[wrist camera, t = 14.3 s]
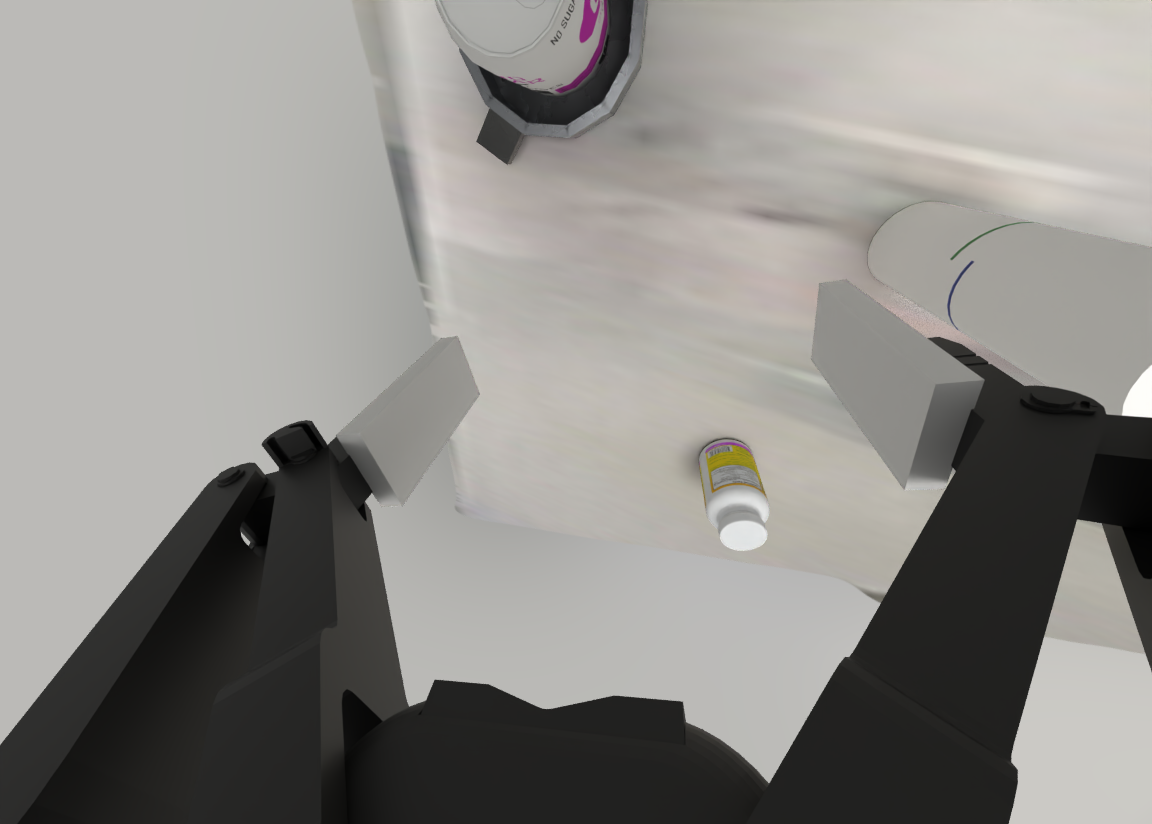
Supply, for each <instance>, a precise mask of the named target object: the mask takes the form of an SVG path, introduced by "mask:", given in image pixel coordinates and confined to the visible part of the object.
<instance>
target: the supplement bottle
mask: <svg viewBox="0 0 1152 824" xmlns="http://www.w3.org/2000/svg"><path fill="white" fill-rule="evenodd" d="M699 467H700V474H701V481H702V487H703V494H704V501H705V508H706V514H707V517H708V519H709V521H710V522H711V523H712V525H713V526H715V527H716V528H717V529H718V532H719V537H720V540H721V542H722V543H723V544H724V545H725V546H727V547H728V548H730V549H734V550H739V551H747V550H752V549H755V548H758V547H759V546H761V545H762V544H763V543H764V542H765V541H766V539H767V530H766V526H765V522H766V520H767V519H768V516H769V512H770V509H769V503H768V500H767V497H766V494H765V491H764V488H763V485H762V482H761V479H760V476H759V473H758V469H757V466H756V463H755V460H754V457H753V455H752V452H751V450H750V449H749V448H748V447H747V446H746V445H745V444H743V443H741V442H739V441H736V440H729V439H725V440H718V441H715V442H713V443H711V444H709V445H708V446H706V447H705V448H704V449H703V451H702V452H701V454H700V457H699Z"/></svg>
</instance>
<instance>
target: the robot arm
mask: <svg viewBox="0 0 1152 824" xmlns="http://www.w3.org/2000/svg"><path fill="white" fill-rule="evenodd" d="M811 360H812V362H813V363H814V364H815V366H816V367H817V369H818V370H819V371H820V373H821V374H822V376H823V377H824V378H825V380H826V381H827V383H828V384H829V385H830V387H831V388H832V390H833V391H834V392H835V394H836V395H837V397H838V398H839V399H840V401H841V402H842V404H843V405H844V406H845V408H846V409H847V411H848V412H849V413H850V415H851V416H852V418H853V419H854V420H855V422H856V423H857V425H858V426H859V427H860V429H861V430H862V432H863V433H864V434H865V436H866V437H867V439H868V440H869V441H870V443H871V444H872V446H873V447H874V448H875V450H876V451H877V453H878V454H879V455H880V457H881V458H882V460H883V461H884V462H885V464H886V465H887V467H888V468H889V469H890V471H891V472H892V474H893V475H894V476H895V478H896V479H897V481H898V482H899V483H900V485H901V486H902V488H903V489H904V490H930V489H945V487H946V485H947V482H948V479H949V476H950V474H951V471H952V468H954V469H955V470H956V472H955V474H954V476H953V477H952V479H951V481H950V483H949V484H948V486H947V488H946V490H945V492H944V493H943V495H942V497H941V499H940V500H939V502H938V504H937V506H936V507H935V509H934V511H933V513H932V514H931V516H930V518H929V520H928V521H927V523H926V525H925V527H924V528H923V530H922V532H921V534H920V536H919V537H918V539H917V541H916V543H915V544H914V546H913V548H912V550H911V551H910V553H909V555H908V557H907V558H906V560H905V562H904V564H903V565H902V567H901V569H900V571H899V572H898V574H897V576H896V578H895V580H894V581H893V583H892V585H891V587H890V588H889V590H888V592H887V594H886V595H885V597H884V599H883V601H882V602H881V604H880V606H879V608H878V609H877V611H876V613H875V615H874V616H873V618H872V620H871V622H870V624H869V625H868V627H867V629H866V631H865V632H864V634H863V636H862V638H861V639H860V641H859V643H858V645H857V647H856V648H855V650H854V651H853V653H852V654H851V655H850V657H845V658H844V659H843V660H842V661H841V663H840V664H839V665H838V667H837V669H836V670H835V672H834V673H833V675H832V677H831V678H830V680H829V682H828V684H827V685H826V687H825V689H824V690H823V692H822V694H821V695H820V697H819V699H818V701H817V702H816V704H815V706H814V707H813V709H812V711H811V713H810V715H809V716H808V718H807V720H806V721H805V723H804V725H803V726H802V729H801V730H800V732H799V733H798V735H797V737H796V739H795V740H794V742H793V744H792V745H791V747H790V749H789V751H788V752H787V754H786V756H785V758H784V759H783V761H782V763H781V764H780V766H779V768H778V770H777V771H776V773H775V775H774V777H773V778H772V780H771V782H770V783H768V782H767V781H766V780H765V779H764V778H763V777H762V776H761V774H760V773H759V772H758V771H757V770H756V769H755V768H754V767H753V766H752V765H751V764H750V763H749V762H747V761H746V760H745V759H744V758H743V757H742V756H741V755H740V754H739V753H738V752H736V751H735V750H734V749H732V748H731V747H730V746H728V745H727V744H725V743H724V742H723V741H721V740H720V739H718V738H717V737H715V736H713V735H711V734H710V733H708V732H706V731H704V730H703V729H700V728H698V727H696V726H693V725H691V724H688V723H686V720H685V713H684V706H683V702H680V701H668V700H657V699H646V698H635V697H624V696H611V697H606V698H601V699H596V700H592V701H587V702H582V703H577V704H573V705H568V706H563V707H558V708H554V709H542V708H539V707H537V706H534V705H532V704H530V703H528V702H526V701H523V700H521V699H519V698H517V697H515V696H513V695H510V694H508V693H506V692H504V691H502V690H499V689H497V688H495V687H493V686H491V685H489V684H477V683H467V682H466V683H465V682H455V681H444V680H434V683H433V685H432V688H431V690H430V693H429V695H428V697H427V700H426V701H424V702H421V703H418V704H416V705H413V706H410V707H409V706H408V703H407V700H406V696H405V690H404V686H403V680H402V675H401V669H400V664H399V658H398V653H397V648H396V642H395V637H394V632H393V627H392V622H391V616H390V610H389V605H388V600H387V594H386V589H385V584H384V578H383V573H382V568H381V562H380V557H379V552H378V546H377V541H376V536H375V530H374V525H373V519H372V514H371V510H370V509H369V507H368V505H367V504H366V503H365V500H366V499H367V498H368V497H369V496H370V495H371V493H373V495H374V496H375V498H376V499H377V501H378V502H379V504H380V506H381V507H390V506H403V505H404V503H405V502H406V501H407V499H408V497H409V496H410V495H411V493H412V492H413V490H414V489H415V487H416V486H417V485H418V483H419V482H420V480H421V479H422V477H423V476H424V474H425V473H426V471H427V470H428V469H429V467H430V466H431V464H432V463H433V461H434V460H435V458H436V457H437V456H438V454H439V453H440V451H441V450H442V448H443V447H444V446H445V444H446V443H447V441H448V440H449V438H450V437H451V435H452V434H453V433H454V431H455V430H456V428H457V427H458V425H459V424H460V422H461V421H462V420H463V418H464V417H465V415H466V414H467V412H468V411H469V409H470V408H471V407H472V405H473V404H474V402H475V401H476V399H477V398H478V396H479V395H480V393H479V390H478V388H477V385H476V383H475V380H474V377H473V375H472V372H471V370H470V367H469V364H468V362H467V359H466V356H465V354H464V351H463V349H462V346H461V343H460V341H459V338H458V336H455V337H448V338H441V339H440V340H439V341H438V342H437V343H435V344H434V345H433V346H432V347H431V348H430V349H429V350H428V351H427V352H426V353H425V354H424V355H423V356H421V358H419V359H418V360H417V361H416V362H415V363H414V364H413V365H412V366H411V367H409V368H408V369H407V370H406V371H405V372H404V373H403V374H402V375H401V376H400V377H399V378H398V379H396V380H395V381H394V382H393V383H392V384H391V385H390V386H389V387H388V388H387V389H386V390H384V391H383V392H382V393H381V394H380V395H379V396H378V397H377V398H376V399H375V400H374V401H373V402H372V403H370V404H369V405H368V406H367V407H366V408H365V409H364V410H363V411H362V412H361V413H360V414H358V415H357V416H356V417H355V418H354V419H353V420H352V421H351V422H350V423H349V424H348V425H347V426H345V427H344V428H343V429H342V430H341V431H340V432H339V433H338V434H337V435H336V438H335V439H333V440H332V441H331V442H330V443H329V444H328V445H327V444H326V442H325V440H324V439H323V437H322V436H321V434H320V433H319V431H318V430H317V428H316V427H315V425H314V424H313V422H312V421H307V420H305V421H299V422H296V423H293V424H290V425H288V426H285V427H283V428H281V429H279V430H277V431H276V432H274V433H272V434H271V435H270V436H269V437H267V438H266V439H265V440H264V441H263V443H262V446H263V447H264V449H265V450H266V451H267V453H268V454H269V455H270V456H271V458H272V459H273V460H274V462H275V463H276V464H277V466H278V467H279V471H277V472H273V473H270V474H266V475H265V474H264V473H263V472H262V471H261V469H260V468H259V467H258V466H257V465H256V464H255V463H246V464H241V465H239V466H236V467H231V468H229V469H227V470H225V471H223V472H221V473H220V474H219V476H217V477H216V478H215V479H213V480H212V481H211V482H210V483H209V484H208V485H207V486H206V487H205V488H204V490H203V491H202V492H201V493H200V495H199V496H198V497H197V498H196V500H195V501H194V502H193V503H192V505H191V506H190V507H189V508H188V510H187V511H186V512H185V513H184V515H183V516H182V517H181V518H180V520H179V521H178V522H177V523H176V525H175V526H174V527H173V528H172V530H171V531H170V532H169V533H168V535H167V536H166V537H165V538H164V540H163V541H162V542H161V544H160V545H159V546H158V547H157V549H156V550H155V551H154V552H153V554H152V555H151V556H150V557H149V559H148V560H147V561H146V563H145V564H144V565H143V566H142V567H141V569H140V570H139V571H138V572H137V574H136V575H135V576H134V578H133V579H132V580H131V581H130V582H129V584H128V585H127V586H126V588H125V589H124V590H123V591H122V593H121V594H120V595H119V596H118V598H117V599H116V600H115V602H114V603H113V604H112V605H111V606H110V608H109V609H108V610H107V611H106V613H105V614H104V615H103V616H102V618H101V619H100V620H99V622H98V623H97V624H96V625H95V627H94V628H93V629H92V630H91V632H90V633H89V634H88V635H87V637H86V638H85V639H84V640H83V642H82V643H81V644H80V645H79V647H78V648H77V649H76V650H75V652H74V653H73V654H72V655H71V657H70V658H69V659H68V661H67V662H66V663H65V664H64V666H63V667H62V668H61V669H60V671H59V672H58V673H57V674H56V676H55V677H54V678H53V679H52V681H51V682H50V683H49V684H48V686H47V687H46V688H45V689H44V691H43V692H42V693H41V694H40V696H39V697H38V698H37V700H36V701H35V702H34V703H33V705H32V706H31V707H30V708H29V710H28V711H27V712H26V714H25V715H24V716H23V717H22V718H21V720H20V721H19V722H18V723H17V725H16V726H15V727H14V728H13V730H12V731H11V732H10V733H9V735H8V736H7V737H6V738H5V740H4V741H3V742H2V744H1V745H0V824H1009V820H1010V816H1011V812H1012V808H1013V804H1014V799H1015V794H1016V789H1017V784H1018V779H1017V778H1018V775H1017V774H1018V770H1017V769H1016V767H1015V766H1014V765H1013V764H1012V763H1011V753H1012V750H1013V745H1014V741H1015V737H1016V734H1017V730H1018V727H1019V723H1020V720H1021V716H1022V713H1023V709H1024V706H1025V702H1026V699H1027V695H1028V691H1029V688H1030V684H1031V681H1032V677H1033V674H1034V670H1035V667H1036V663H1037V660H1038V655H1039V652H1040V649H1041V645H1042V642H1043V638H1044V635H1045V631H1046V628H1047V624H1048V620H1049V617H1050V613H1051V610H1052V606H1053V603H1054V599H1055V596H1056V592H1057V588H1058V585H1059V581H1060V578H1061V574H1062V571H1063V567H1064V564H1065V560H1066V557H1067V553H1068V549H1069V546H1070V542H1071V539H1072V535H1073V532H1074V528H1075V525H1076V521H1077V519H1079V520H1085V521H1091V522H1097V523H1102V526H1103V529H1104V532H1105V535H1106V538H1107V540H1108V543H1109V546H1110V549H1111V552H1112V555H1113V558H1114V561H1115V564H1116V567H1117V570H1118V573H1119V576H1120V579H1121V582H1122V585H1123V588H1124V591H1125V594H1126V597H1127V600H1128V603H1129V606H1130V609H1131V612H1132V615H1133V618H1134V621H1135V623H1136V626H1137V629H1138V632H1139V635H1140V638H1141V641H1142V644H1143V647H1144V650H1145V653H1146V656H1147V659H1148V662H1149V665H1150V668H1151V671H1152V418H1149V417H1136V416H1122V415H1109V414H1106V411H1105V408H1104V406H1102V405H1101V404H1100V403H1098V402H1097V401H1095V400H1094V399H1092V398H1090V397H1087V396H1085V395H1082V394H1080V393H1077V392H1073V391H1069V390H1065V389H1060V388H1055V387H1046V386H1024V385H1022V384H1021V383H1019V382H1018V381H1016V380H1015V379H1013V378H1012V377H1010V376H1009V375H1007V374H1005V373H1004V372H1002V371H1001V370H999V369H998V368H996V367H995V366H993V365H992V364H988V362H987V361H986V360H984V359H983V358H981V357H980V356H976V354H975V353H974V352H972V351H971V350H969V349H968V348H966V347H965V346H963V345H962V344H959V343H956V342H953V341H950V340H947V339H944V338H941V337H933V338H926V337H925V336H923V335H922V334H921V333H919V332H918V331H916V330H915V329H914V328H912V327H911V326H910V325H908V324H907V323H905V322H904V321H903V320H901V319H900V318H899V317H897V316H896V315H894V314H893V313H892V312H890V311H889V310H888V309H886V308H885V307H883V306H882V305H881V304H879V303H878V302H876V301H875V300H874V299H872V298H871V297H870V296H868V295H867V294H865V293H864V292H863V291H861V290H860V289H859V288H857V287H856V286H854V285H853V284H852V283H850V282H849V281H848V280H839V281H832V282H825V283H819V291H818V301H817V310H816V319H815V329H814V338H813V347H812V356H811ZM240 531H241V532H242V534H243V535H245V537H246V538H247V539H248V540H249V541H250V544H249V546H248V545H247V544H246V543H245V542H244V541H243V539H242V537H241V532H240Z"/></svg>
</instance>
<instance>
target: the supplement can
mask: <svg viewBox="0 0 1152 824" xmlns="http://www.w3.org/2000/svg"><path fill="white" fill-rule="evenodd" d="M435 2H436V6H437V9H438V11H439V13H440V15H441V17H442V19H443V21H444V23H445V25H446V28H447V30H448V32H449V34H450V36H451V38H452V39H453V41H454V42H455V43H456V44H457V45H458V46H459V47H460V49H461V50H462V51H463V52H464V53H465V54H466V55H467V57H468V58H469V59H470V60H471V61H472V62H473V63H475V64H477V65H479V66H481V67H482V68H484V69H486V70H488V71H490V72H491V73H493V74H495V75H497V76H500V77H502V78H504V79H507V80H509V81H512V82H514V83H516V84H519V85H521V86H524V87H526V88H529V89H531V90H533V91H536V92H538V93H541V94H543V95H545V96H554V97H566V96H568V95H571V94H573V93H576V92H579V91H581V90H582V89H583V88H584V87H585V86H586V85H587V84H588V83H589V82H590V81H591V80H592V79H593V78H594V77H595V76H596V74H597V72H598V70H599V68H600V67H601V65H602V63H603V61H604V59H605V57H606V53H607V48H608V44H609V39H610V35H611V21H610V5H609V2H608V0H435Z"/></svg>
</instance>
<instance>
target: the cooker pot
mask: <svg viewBox="0 0 1152 824" xmlns="http://www.w3.org/2000/svg"><path fill="white" fill-rule="evenodd" d="M608 2H609V5H610V21H611V35H610V39H609V44H608V48H607V53H606V57H605V59H604V61H603V63H602V65H601V67H600V68H599V70H598V72H597V74H596V76H595V77H594V78H593V79H592V80H591V81H590V82H589V83H588V84H587V85H586V86H585V87H584V88H583V89H582V90H581V91H579V92H576V93H573V94H571V95H568V96H566V97H554V96H545V95H543V94H541V93H538V92H536V91H533V90H531V89H529V88H526V87H524V86H521V85H519V84H516V83H514V82H512V81H509V80H507V79H504V78H502V77H500V76H497V75H495V74H493V73H491V72H490V71H488V70H486V69H484V68H482V67H481V66H479V65H477V64H475V63H473V62H472V61H471V60H470V59H469V58H468V57H467V55H466V54H465V53H464V52H463V51H462V50H461V49H460V47H459V51H460V53H461V55H462V57H463V59H464V62H465V64H466V66H467V68H468V70H469V72H470V74H471V76H472V78H473V80H474V82H475V84H476V86H477V88H478V90H479V92H480V94H481V96H482V98H483V100H484V102H485V104H486V105H487V106H488V107H489V108H490V109H489V112H488V114H487V117H486V119H485V122H484V124H483V126H482V129H481V131H480V134H479V136H478V139H477V141H476V142H478V143H479V144H480V145H482V146H483V147H484V148H486V149H487V150H488V151H490V152H491V153H492V154H494V155H495V156H496V157H498V158H499V159H500V160H502V161H503V162H504V163H506V164H507V165H508V164H511V163H512V161H513V159H514V157H515V155H516V153H517V150H518V148H519V146H520V144H521V142H522V140H523V137H524V135H533V136H548V137H563V138H577V137H579V136H581V135H582V134H584V133H586V132H587V131H589V130H590V129H592V128H594V127H595V126H597V125H598V124H600V123H602V122H603V121H605V120H606V119H608V118H610V117H611V116H613V115H614V114H615V112H616V110H617V109H618V107H619V105H620V103H621V102H622V100H623V98H624V96H625V94H626V93H627V91H628V89H629V87H630V86H631V84H632V82H633V80H634V79H635V77H636V75H637V73H638V71H639V70H640V67H641V61H642V51H643V42H644V33H645V24H646V15H647V6H648V3H647V0H608Z"/></svg>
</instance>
